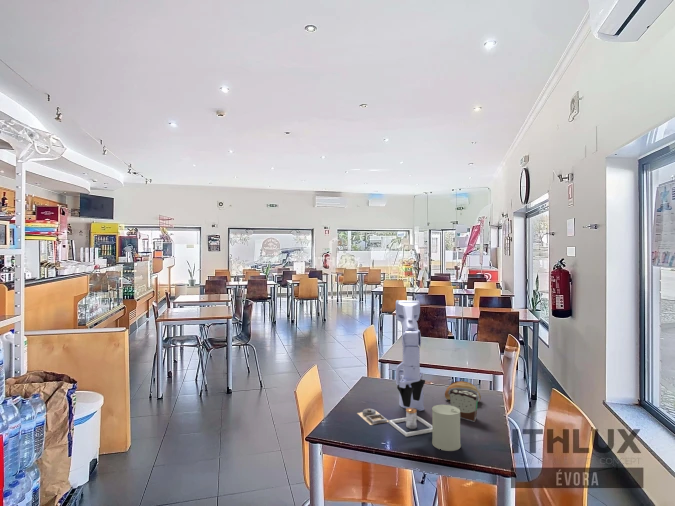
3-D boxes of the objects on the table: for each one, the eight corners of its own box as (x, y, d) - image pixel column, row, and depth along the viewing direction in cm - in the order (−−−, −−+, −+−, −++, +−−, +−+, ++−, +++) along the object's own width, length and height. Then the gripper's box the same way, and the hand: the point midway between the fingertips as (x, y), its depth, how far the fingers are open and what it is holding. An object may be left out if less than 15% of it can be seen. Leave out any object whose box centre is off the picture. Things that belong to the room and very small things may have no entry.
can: (456, 453, 127) (456, 415, 128) (427, 446, 132) (427, 409, 132) (464, 442, 135) (463, 406, 135) (437, 436, 140) (436, 401, 140)
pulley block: (375, 414, 160) (375, 405, 160) (390, 425, 149) (390, 416, 149) (356, 417, 157) (356, 408, 157) (370, 429, 146) (370, 419, 146)
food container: (485, 418, 156) (485, 392, 156) (478, 423, 151) (478, 396, 151) (455, 410, 164) (455, 385, 164) (448, 414, 159) (448, 388, 160)
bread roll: (443, 396, 181) (443, 378, 181) (478, 398, 179) (478, 379, 179) (445, 403, 172) (445, 384, 172) (482, 405, 169) (482, 386, 169)
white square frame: (417, 422, 152) (417, 415, 152) (436, 435, 141) (436, 428, 141) (388, 427, 147) (388, 420, 147) (406, 441, 136) (406, 433, 136)
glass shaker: (407, 426, 147) (407, 407, 147) (418, 428, 145) (418, 408, 145) (404, 430, 143) (404, 410, 144) (414, 432, 142) (414, 412, 142)
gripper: (410, 359, 153) (410, 395, 152) (391, 367, 141) (391, 406, 141) (427, 361, 148) (428, 399, 148) (409, 370, 137) (410, 411, 137)
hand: (411, 403), depth 144 cm, fingers open, 7 cm apart
